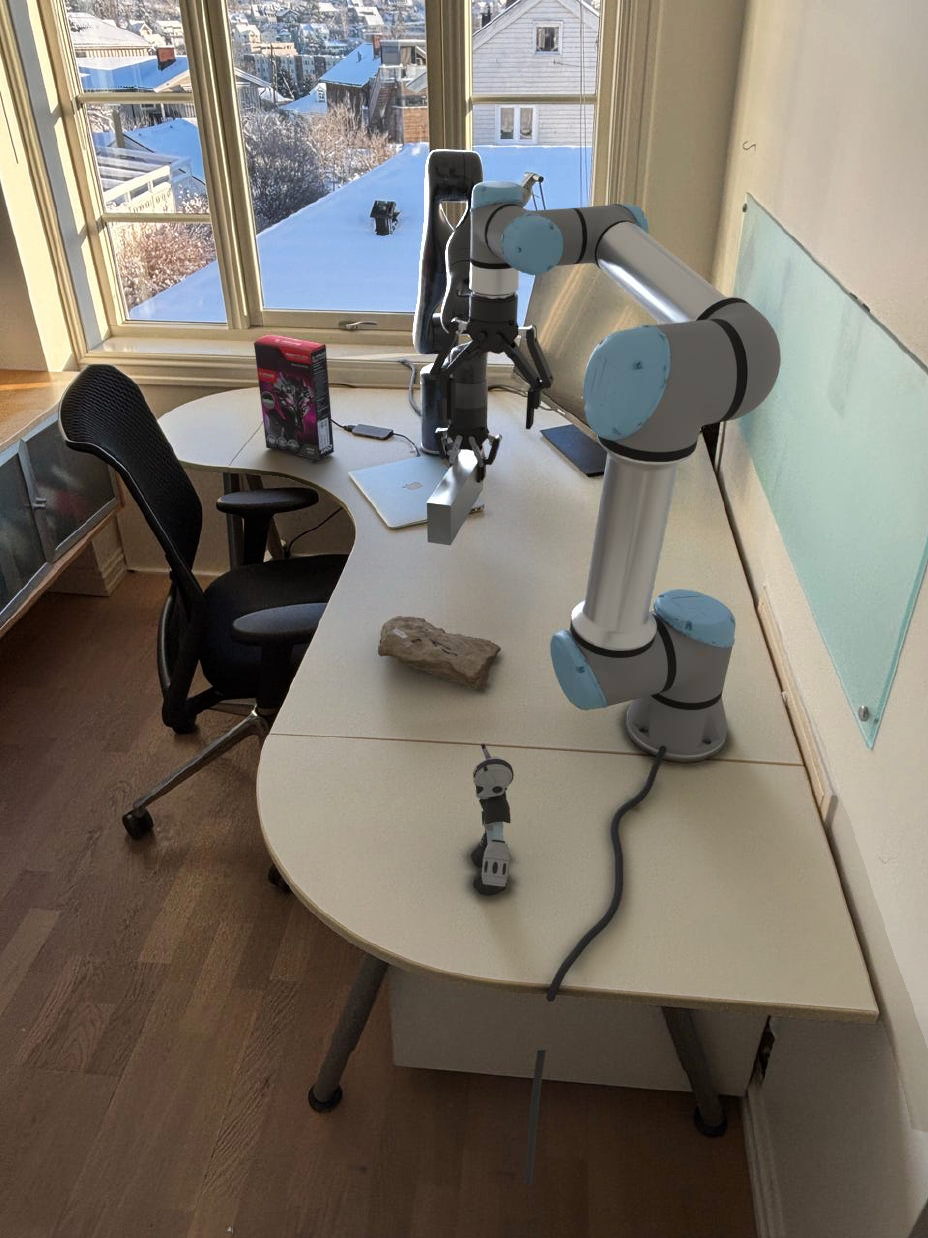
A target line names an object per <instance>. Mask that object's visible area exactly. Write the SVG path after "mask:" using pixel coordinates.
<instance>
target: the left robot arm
mask: <svg viewBox="0 0 928 1238" xmlns="http://www.w3.org/2000/svg"><path fill="white" fill-rule="evenodd" d="M424 175H425V177H424V222H423V231H422V232H423V233H422V241H421V249H420V256H419V257H420V260H419V274H418V275H419V276H418V294H417V301H416V302H417V303H416V307H415V314H414V320H413V327H412V342H413V347H414V350H415V351H416V353H418V355H421V356H438V354H439V352H440V350H441V348H442V346H443V344H444V342H445V340H446V338H447V336H448V333H449V324H450V323H451V322H452V320H453V319H454V318H456V317H458V318H459V319H460V320H461V321H465V322H469V309H470V294H471V293H472V292H473V291H472V290H471V289H470V263H471V213H470V208H471V202H472V191H473V188H474V186H475V185H477V184H478V183H481V182H484V167H483V160H482V158H481V155H480V154H479V153H478V152H477V151H473V150H467V149H466V150H465V149H464V150H462V149H434V150H431V152H430V153H429V155H428V157H427V159H426V163H425V173H424ZM442 203H466V208H465V212H464V214H463V216H462V217H461V219H460V220H459V222H458V224H457V225H456V226H455V228H454V227H452V225H451V224H450V223H449V222H450V221H448V218H447V216H446V214H445V212H444V210H443V207H442ZM441 305H442V306H441ZM440 306H441V310H440V311H441V312H440V313H436V311H437V309H438V308H439V307H440ZM461 336H469V334H468V333H467V331H466V330H464V331H463V332H462V334H460V335H458V337H457V339H456V341H455V343H454V345H453V347H452V349H451V350H450V352H449V354H448V356H447V358H446V360H445V362H444V364H443V366H442V368H445V369H446V368H447V367H448V366H449V365H450V364H451V363H452V362H453V361H454V360H455V359H456V358H457V357H458V356H459V354H460V353H461V352H462V351H463V350H464V349H465V348H466V347H467V346H468V345H469V344H470V342H471V341H469V342H466V343H462V344H460V343H461ZM488 356H489V352H486V353H485V352H481V351H480V350H479V349H478V348H476V349H475V350H474V351H473V352H472V353H471V354H470V355H469V356H468V357H467V358H466V359H465V360H464V362H463V363H462V364H461V365H460V366H459V367H458V368H457V369H456V370H455V371H454V372H453V373H452V374H451V376H452V377H456V399H455V415H454V416H453V418H452V419H451V420H448V419H447V399H445V398H442V396H441V379H440V378H439V377H437V376H432V375H431V374H430V370H431V368H432V366H433V364H434V362H432V363H430V364H428V365H426V366H424V367H422V369H421V371H420V373H419V381H420V384H419V385H420V408H419V407H418V405H416V403H415V400H414V398H413V388H414V383H415V378H416V373H417V372H416V371H417V370H416V367H415V365H413V363H412V362H411V361H410V360H409V359H407V358H402V359H400V361H399V363H400V364H403V363H406V364H407V365H408V366H409V368H411V370H412V372H411V373H412V374H411V379H410V381H409V388H408V398H409V399H408V400H409V401H410V404H411V406H412V407H413V409H414V410H415V411H416V412H417V413H418V414H419V415H420V431H421V432H420V436H421V437H420V439H421V442H420V449H421V450H422V451H423V452H424V453H426V454H429V455H430V454H431V455H435V456H439V457H440V459H441V460H446V461H448V463H449V468H450V467H451V466H452V464H453V463H454V461H455V460H456V458H457V457H458V455H459V454H460V452H461V451H462V450H467V451H473V453H474V456H475V457H476V460H477V463H478V467H477V483H481V482H482V481H483V482H484V481H485V478H486V475H487V466H492V465H493V463H494V461H495V460H496V457H497V455H498V451H499V448H500V446H501V442H502V439H503V435H502V434H500V433H497V435H496V434H493V433H491V432H490V430H489V428H488V405H489V403H488V402H489V388H488V387H489V386H488ZM402 360H403V361H402ZM404 361H405V362H404ZM487 440H488V444H489V446H490V450H489V454H488V456H486V453H485V447H484V443H485V441H487Z"/></svg>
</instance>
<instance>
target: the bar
mask: <svg viewBox="0 0 928 1238" xmlns="http://www.w3.org/2000/svg"><path fill="white" fill-rule="evenodd" d="M477 467H478V463H477V460H476V457H475V456H474V453H473V451H470V450H467V449H465V450H460V452H459V454H458V457H457V458H456V460H455V461H454V463H453V464H452V466H451V467H450V466H449V469H448V471H447V472H446V473H445V475H444V477H443V478H442V479H441V481H440V482H439V484H438V485H437V487H436V488H435V490H434V491H433V492H432V494H431V495H430V497H429V499H428V500H427V501H426V526H427V527H426V528H427V531H426V532H427V535H426V536H427V537H426V539H427V543H430V544H431V543H432V544H436V545H437V544H438V545H444V546H452V544H453V543H454V541H455V539H456V537H457V535H458V533H459V532H460V531H461V528H462V527H463V525H464V523H465V521H466V519H467V518H468V516H469V515H470V512H471V511H472V509H473V507H474V506H475V504H476V503H477V501H478V499H479V498H480V495H481V494H482V492H483V489H484V480H483V481H482V482H481V483H477Z"/></svg>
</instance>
